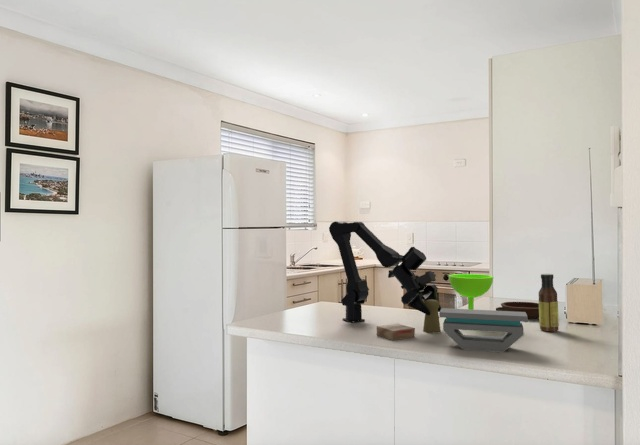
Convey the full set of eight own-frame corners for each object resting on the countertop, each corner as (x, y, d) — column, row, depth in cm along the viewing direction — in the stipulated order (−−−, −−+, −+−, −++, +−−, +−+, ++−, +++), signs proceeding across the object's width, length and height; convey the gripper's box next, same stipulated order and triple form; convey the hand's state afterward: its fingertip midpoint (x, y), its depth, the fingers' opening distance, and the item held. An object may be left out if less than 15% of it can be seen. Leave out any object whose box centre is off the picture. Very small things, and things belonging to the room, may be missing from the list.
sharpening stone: (439, 347, 159) (439, 312, 159) (441, 342, 167) (441, 308, 167) (527, 353, 152) (527, 316, 152) (525, 347, 159) (525, 312, 159)
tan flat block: (376, 335, 177) (376, 326, 177) (397, 332, 181) (397, 323, 181) (393, 340, 169) (393, 331, 169) (415, 337, 173) (415, 328, 173)
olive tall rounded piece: (440, 333, 180) (440, 301, 180) (422, 332, 181) (422, 300, 181) (440, 329, 186) (440, 298, 186) (423, 329, 187) (423, 298, 187)
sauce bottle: (557, 329, 186) (557, 273, 186) (559, 333, 180) (559, 275, 180) (537, 328, 188) (537, 272, 188) (539, 331, 182) (539, 274, 182)
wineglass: (440, 324, 195) (440, 276, 195) (461, 318, 207) (461, 273, 207) (481, 330, 184) (481, 279, 184) (500, 323, 196) (500, 275, 196)
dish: (556, 322, 200) (556, 309, 200) (495, 319, 207) (495, 306, 207) (551, 314, 217) (551, 302, 217) (495, 311, 223) (495, 300, 223)
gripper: (409, 265, 178) (439, 301, 171) (432, 262, 193) (461, 294, 186) (388, 287, 183) (417, 322, 176) (413, 282, 198) (440, 314, 191)
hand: (435, 312), depth 182 cm, fingers open, 9 cm apart
